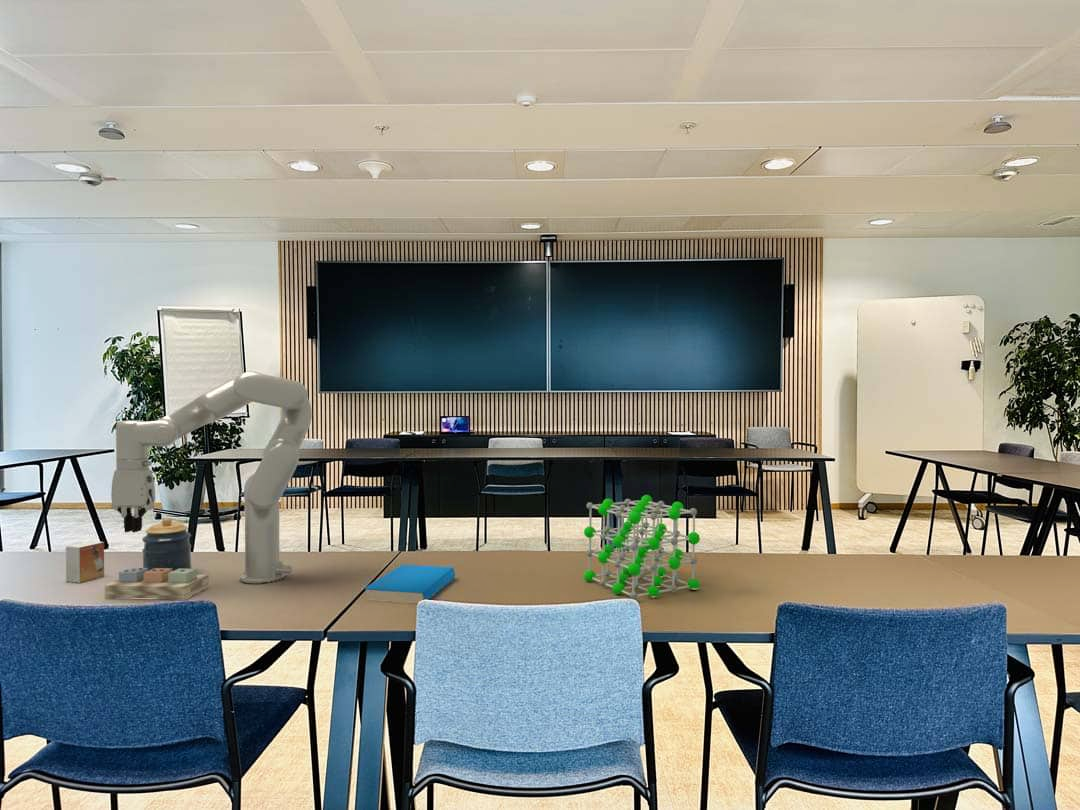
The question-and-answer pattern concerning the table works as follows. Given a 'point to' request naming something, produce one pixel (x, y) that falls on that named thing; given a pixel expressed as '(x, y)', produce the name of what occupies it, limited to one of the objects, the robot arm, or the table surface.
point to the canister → (167, 546)
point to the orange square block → (157, 575)
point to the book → (410, 583)
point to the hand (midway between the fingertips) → (133, 530)
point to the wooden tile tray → (156, 589)
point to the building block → (132, 575)
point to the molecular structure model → (640, 546)
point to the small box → (84, 561)
